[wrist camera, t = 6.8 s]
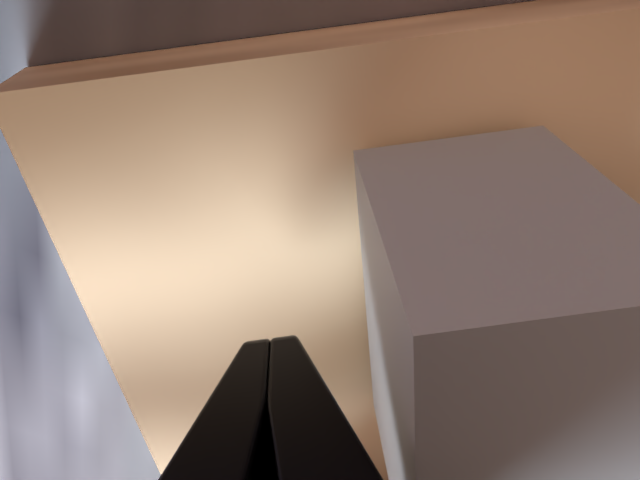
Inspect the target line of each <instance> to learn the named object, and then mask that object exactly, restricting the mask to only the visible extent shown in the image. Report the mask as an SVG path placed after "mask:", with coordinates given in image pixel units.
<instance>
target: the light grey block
mask: <svg viewBox="0 0 640 480" xmlns="http://www.w3.org/2000/svg"><path fill="white" fill-rule="evenodd" d="M353 154H354V167H355V179H356V192H357V204H358V216H359V229H360V241H361V254H362V266H363V279H364V291H365V303H366V316H367V328H368V341H369V353H370V366H371V378H372V391H373V403H374V409H375V414H376V419H377V424H378V429H379V434H380V439H381V444H382V449H383V454H384V459H385V464H386V469H387V474H388V479H389V480H640V204H638V203H637V202H636V201H635V200H634V199H632V198H631V197H630V196H629V195H627V194H626V193H625V192H624V191H623V190H621V189H620V188H619V187H618V186H616V185H615V184H614V183H613V182H612V181H610V180H609V179H608V178H607V177H605V176H604V175H603V174H602V173H601V172H599V171H598V170H597V169H596V168H594V167H593V166H592V165H591V164H590V163H588V162H587V161H586V160H585V159H583V158H582V157H581V156H580V155H579V154H577V153H576V152H575V151H574V150H572V149H571V148H570V147H569V146H568V145H566V144H565V143H564V142H563V141H561V140H560V139H559V138H558V137H557V136H555V135H554V134H553V133H552V132H550V131H549V130H548V129H547V128H546V127H544V126H535V127H528V128H520V129H513V130H505V131H497V132H490V133H482V134H475V135H467V136H460V137H452V138H444V139H437V140H429V141H422V142H414V143H407V144H399V145H391V146H384V147H376V148H369V149H361V150H354V151H353Z"/></svg>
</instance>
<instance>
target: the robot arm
mask: <svg viewBox="0 0 640 480" xmlns="http://www.w3.org/2000/svg"><path fill="white" fill-rule="evenodd" d="M158 480H383V478H382V476H381V475H380V473H379V471H378V470H377V468H376V466H375V465H374V463H373V461H372V460H371V458H370V456H369V455H368V453H367V451H366V450H365V448H364V446H363V445H362V443H361V441H360V440H359V438H358V436H357V435H356V433H355V431H354V430H353V428H352V426H351V425H350V423H349V421H348V420H347V418H346V416H345V415H344V413H343V411H342V410H341V408H340V406H339V405H338V403H337V401H336V400H335V398H334V396H333V395H332V393H331V391H330V390H329V388H328V386H327V385H326V383H325V381H324V380H323V378H322V376H321V375H320V373H319V371H318V370H317V368H316V366H315V365H314V363H313V361H312V360H311V358H310V356H309V355H308V353H307V351H306V350H305V348H304V346H303V345H302V343H301V341H300V340H299V338H298V337H297V336H295V335H290V336H282V337H275V338H272V339H271V341H270V340H269V339H259V340H252V341H246V342H244V343H243V344H242V346H241V347H240V349H239V350H238V352H237V354H236V355H235V357H234V358H233V360H232V362H231V363H230V365H229V366H228V368H227V370H226V371H225V373H224V375H223V376H222V378H221V379H220V381H219V383H218V384H217V386H216V387H215V389H214V391H213V392H212V394H211V395H210V397H209V399H208V400H207V402H206V404H205V405H204V407H203V408H202V410H201V412H200V413H199V415H198V416H197V418H196V420H195V421H194V423H193V424H192V426H191V428H190V429H189V431H188V433H187V434H186V436H185V437H184V439H183V441H182V442H181V444H180V445H179V447H178V449H177V450H176V452H175V454H174V455H173V457H172V458H171V460H170V462H169V463H168V465H167V466H166V468H165V470H164V471H163V473H162V474H161V476H160V478H159V479H158Z"/></svg>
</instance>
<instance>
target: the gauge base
mask: <svg viewBox="0 0 640 480" xmlns="http://www.w3.org/2000/svg"><path fill="white" fill-rule="evenodd" d="M535 126H544V127H546V128H547V129H548V130H549V131H550V132H552V133H553V134H554V135H555V136H557V137H558V138H559V139H560V140H561V141H563V142H564V143H565V144H566V145H568V146H569V147H570V148H571V149H572V150H574V151H575V152H576V153H577V154H579V155H580V156H581V157H582V158H583V159H585V160H586V161H587V162H588V163H590V164H591V165H592V166H593V167H594V168H596V169H597V170H598V171H599V172H601V173H602V174H603V175H604V176H605V177H607V178H608V179H609V180H610V181H612V182H613V183H614V184H615V185H616V186H618V187H619V188H620V189H621V190H623V191H624V192H625V193H626V194H627V195H629V196H630V197H631V198H632V199H634V200H635V201H636V202H637V203H638V204H640V0H535V1H528V2H520V3H512V4H505V5H497V6H489V7H482V8H474V9H467V10H459V11H451V12H444V13H436V14H429V15H421V16H413V17H406V18H398V19H391V20H383V21H375V22H368V23H360V24H352V25H345V26H337V27H330V28H322V29H314V30H307V31H299V32H292V33H284V34H276V35H269V36H261V37H253V38H246V39H238V40H231V41H223V42H215V43H208V44H200V45H193V46H185V47H177V48H170V49H162V50H155V51H147V52H139V53H132V54H124V55H116V56H109V57H101V58H94V59H86V60H78V61H71V62H63V63H56V64H48V65H40V66H33V67H26V68H24V69H23V70H21V71H19V72H18V73H16V74H15V75H13V76H12V77H10V78H9V79H7V80H6V81H4V82H3V83H1V84H0V129H1V131H2V133H3V135H4V137H5V139H6V142H7V144H8V146H9V148H10V150H11V152H12V154H13V157H14V159H15V161H16V163H17V165H18V167H19V170H20V172H21V174H22V176H23V178H24V180H25V183H26V185H27V187H28V189H29V191H30V193H31V195H32V198H33V200H34V202H35V204H36V206H37V208H38V211H39V213H40V215H41V217H42V219H43V221H44V224H45V226H46V228H47V230H48V232H49V234H50V236H51V239H52V241H53V243H54V245H55V247H56V249H57V252H58V254H59V256H60V258H61V260H62V262H63V265H64V267H65V269H66V271H67V273H68V275H69V277H70V280H71V282H72V284H73V286H74V288H75V290H76V293H77V295H78V297H79V299H80V301H81V303H82V306H83V308H84V310H85V312H86V314H87V316H88V318H89V321H90V323H91V325H92V327H93V329H94V331H95V334H96V336H97V338H98V340H99V342H100V344H101V347H102V349H103V351H104V353H105V355H106V357H107V359H108V362H109V364H110V366H111V368H112V370H113V372H114V375H115V377H116V379H117V381H118V383H119V385H120V388H121V390H122V392H123V394H124V396H125V398H126V400H127V403H128V405H129V407H130V409H131V411H132V413H133V416H134V418H135V420H136V422H137V424H138V426H139V429H140V431H141V433H142V435H143V437H144V439H145V441H146V444H147V446H148V448H149V450H150V452H151V454H152V457H153V459H154V461H155V463H156V465H157V467H158V470H159V472H160V474H162V473H163V471H164V470H165V468H166V466H167V465H168V463H169V462H170V460H171V458H172V457H173V455H174V454H175V452H176V450H177V449H178V447H179V445H180V444H181V442H182V441H183V439H184V437H185V436H186V434H187V433H188V431H189V429H190V428H191V426H192V424H193V423H194V421H195V420H196V418H197V416H198V415H199V413H200V412H201V410H202V408H203V407H204V405H205V404H206V402H207V400H208V399H209V397H210V395H211V394H212V392H213V391H214V389H215V387H216V386H217V384H218V383H219V381H220V379H221V378H222V376H223V375H224V373H225V371H226V370H227V368H228V366H229V365H230V363H231V362H232V360H233V358H234V357H235V355H236V354H237V352H238V350H239V349H240V347H241V346H242V344H243V343H244V342H246V341H252V340H259V339H269V340H270V341H271V339H272V338H275V337H282V336H290V335H295V336H297V337H298V338H299V340H300V341H301V343H302V345H303V346H304V348H305V350H306V351H307V353H308V355H309V356H310V358H311V360H312V361H313V363H314V365H315V366H316V368H317V370H318V371H319V373H320V375H321V376H322V378H323V380H324V381H325V383H326V385H327V386H328V388H329V390H330V391H331V393H332V395H333V396H334V398H335V400H336V401H337V403H338V405H339V406H340V408H341V410H342V411H343V413H344V415H345V416H346V418H347V420H348V421H349V423H350V425H351V426H352V428H353V430H354V431H355V433H356V435H357V436H358V438H359V440H360V441H361V443H362V445H363V446H364V448H365V450H366V451H367V453H368V455H369V456H370V458H371V460H372V461H373V463H374V465H375V466H376V468H377V470H378V471H379V473H380V475H381V476H382V478H383V480H389V479H388V474H387V469H386V464H385V459H384V454H383V449H382V444H381V439H380V434H379V429H378V424H377V419H376V414H375V409H374V403H373V391H372V378H371V366H370V353H369V341H368V328H367V316H366V303H365V291H364V279H363V266H362V254H361V241H360V229H359V216H358V204H357V192H356V179H355V167H354V154H353V151H354V150H361V149H369V148H376V147H384V146H391V145H399V144H407V143H414V142H422V141H429V140H437V139H444V138H452V137H460V136H467V135H475V134H482V133H490V132H497V131H505V130H513V129H520V128H528V127H535Z"/></svg>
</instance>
